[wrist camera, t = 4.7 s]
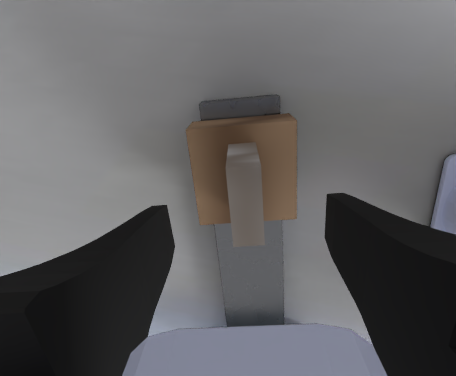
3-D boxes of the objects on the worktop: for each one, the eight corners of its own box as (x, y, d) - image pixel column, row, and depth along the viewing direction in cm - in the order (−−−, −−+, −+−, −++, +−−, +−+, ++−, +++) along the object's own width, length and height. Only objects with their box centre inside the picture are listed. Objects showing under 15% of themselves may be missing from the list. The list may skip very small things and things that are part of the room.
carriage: (289, 113, 17) (316, 137, 11) (289, 201, 20) (312, 259, 14) (192, 121, 18) (169, 149, 12) (204, 207, 20) (190, 266, 14)
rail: (276, 94, 19) (279, 96, 17) (281, 318, 26) (284, 332, 25) (201, 101, 19) (198, 104, 18) (228, 320, 27) (228, 334, 25)
